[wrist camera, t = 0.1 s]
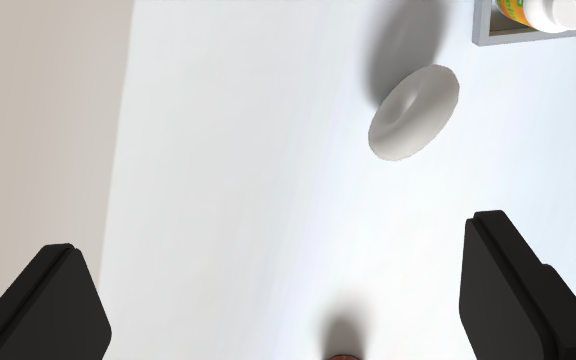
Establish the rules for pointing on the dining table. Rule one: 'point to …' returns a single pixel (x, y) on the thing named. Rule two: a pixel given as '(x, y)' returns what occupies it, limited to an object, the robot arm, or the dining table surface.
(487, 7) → the grey square frame
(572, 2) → the supplement bottle
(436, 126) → the donut
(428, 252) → the dining table surface
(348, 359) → the supplement bottle
